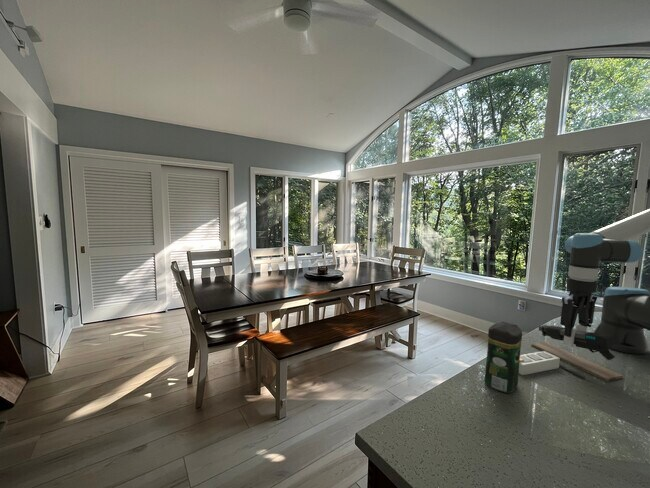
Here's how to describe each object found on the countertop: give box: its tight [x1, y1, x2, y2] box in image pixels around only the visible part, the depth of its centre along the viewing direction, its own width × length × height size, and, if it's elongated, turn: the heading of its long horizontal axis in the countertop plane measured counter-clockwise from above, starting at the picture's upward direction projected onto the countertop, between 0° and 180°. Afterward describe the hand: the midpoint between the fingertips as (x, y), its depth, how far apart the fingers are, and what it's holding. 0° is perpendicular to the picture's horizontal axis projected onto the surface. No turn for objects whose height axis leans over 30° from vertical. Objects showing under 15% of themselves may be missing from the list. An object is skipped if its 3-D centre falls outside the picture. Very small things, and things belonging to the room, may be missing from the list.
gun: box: [538, 324, 616, 361], centre depth 100 cm, size 4×20×10 cm, turn 23°
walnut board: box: [531, 341, 623, 382], centre depth 101 cm, size 7×24×1 cm, turn 17°
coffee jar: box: [484, 321, 523, 394], centre depth 85 cm, size 10×8×19 cm
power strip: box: [519, 350, 586, 380], centre depth 92 cm, size 18×12×4 cm, turn 107°
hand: (573, 344), depth 100 cm, fingers closed on gun, 5 cm apart
